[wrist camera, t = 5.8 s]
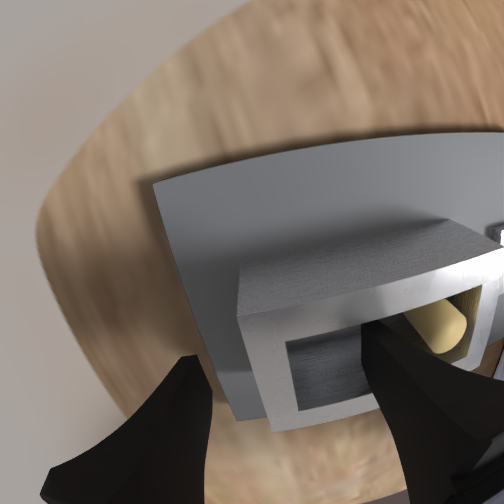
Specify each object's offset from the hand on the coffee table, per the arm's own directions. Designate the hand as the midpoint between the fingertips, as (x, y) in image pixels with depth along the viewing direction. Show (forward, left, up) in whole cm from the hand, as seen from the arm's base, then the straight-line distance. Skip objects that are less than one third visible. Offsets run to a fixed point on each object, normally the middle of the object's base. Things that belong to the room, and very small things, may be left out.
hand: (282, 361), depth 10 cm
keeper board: (-6, 0, -4) cm, 8 cm away
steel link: (-4, 0, -3) cm, 5 cm away
